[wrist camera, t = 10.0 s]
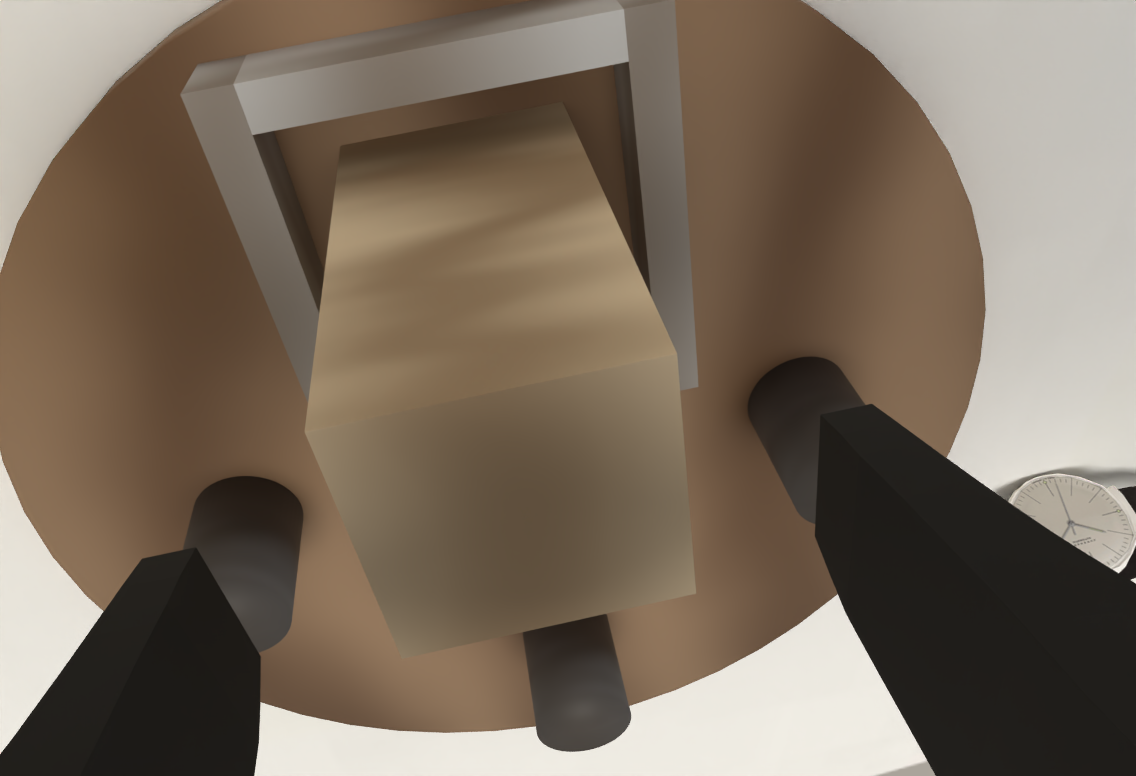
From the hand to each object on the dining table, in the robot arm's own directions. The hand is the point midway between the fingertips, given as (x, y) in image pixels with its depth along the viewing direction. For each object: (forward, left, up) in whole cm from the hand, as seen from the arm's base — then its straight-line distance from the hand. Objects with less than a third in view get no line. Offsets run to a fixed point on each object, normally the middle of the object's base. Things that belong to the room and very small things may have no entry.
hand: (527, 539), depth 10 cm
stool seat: (0, +6, -9) cm, 11 cm away
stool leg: (0, 0, -8) cm, 8 cm away
